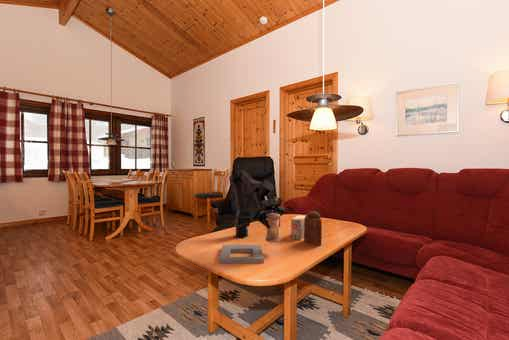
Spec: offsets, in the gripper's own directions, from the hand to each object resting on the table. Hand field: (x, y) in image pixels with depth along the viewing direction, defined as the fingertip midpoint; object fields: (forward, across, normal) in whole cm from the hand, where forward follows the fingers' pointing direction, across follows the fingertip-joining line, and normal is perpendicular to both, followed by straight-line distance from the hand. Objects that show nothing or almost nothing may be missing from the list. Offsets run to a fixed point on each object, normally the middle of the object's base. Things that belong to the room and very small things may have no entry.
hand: (274, 227), depth 124 cm
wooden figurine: (+7, +30, +13) cm, 33 cm away
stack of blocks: (-4, +35, +23) cm, 42 cm away
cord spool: (+4, 0, +6) cm, 7 cm away
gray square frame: (+5, -15, +14) cm, 21 cm away
